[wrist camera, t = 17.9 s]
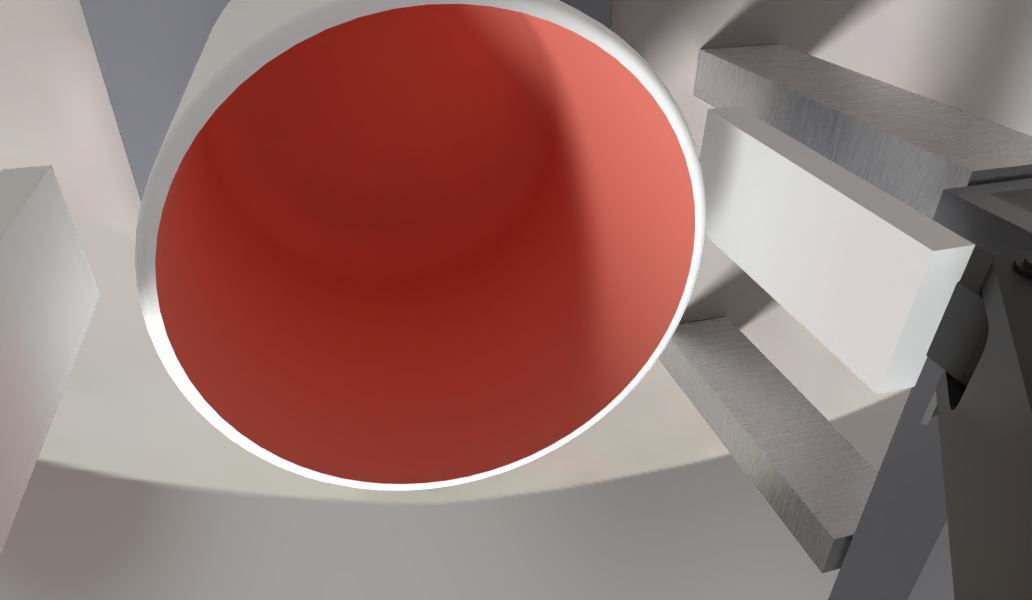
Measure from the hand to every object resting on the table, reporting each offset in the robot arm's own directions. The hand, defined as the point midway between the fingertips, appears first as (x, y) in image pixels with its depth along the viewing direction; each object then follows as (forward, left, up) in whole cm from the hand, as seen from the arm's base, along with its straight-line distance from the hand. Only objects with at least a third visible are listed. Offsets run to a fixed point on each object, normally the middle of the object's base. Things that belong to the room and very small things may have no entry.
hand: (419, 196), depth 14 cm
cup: (0, 0, -7) cm, 7 cm away
